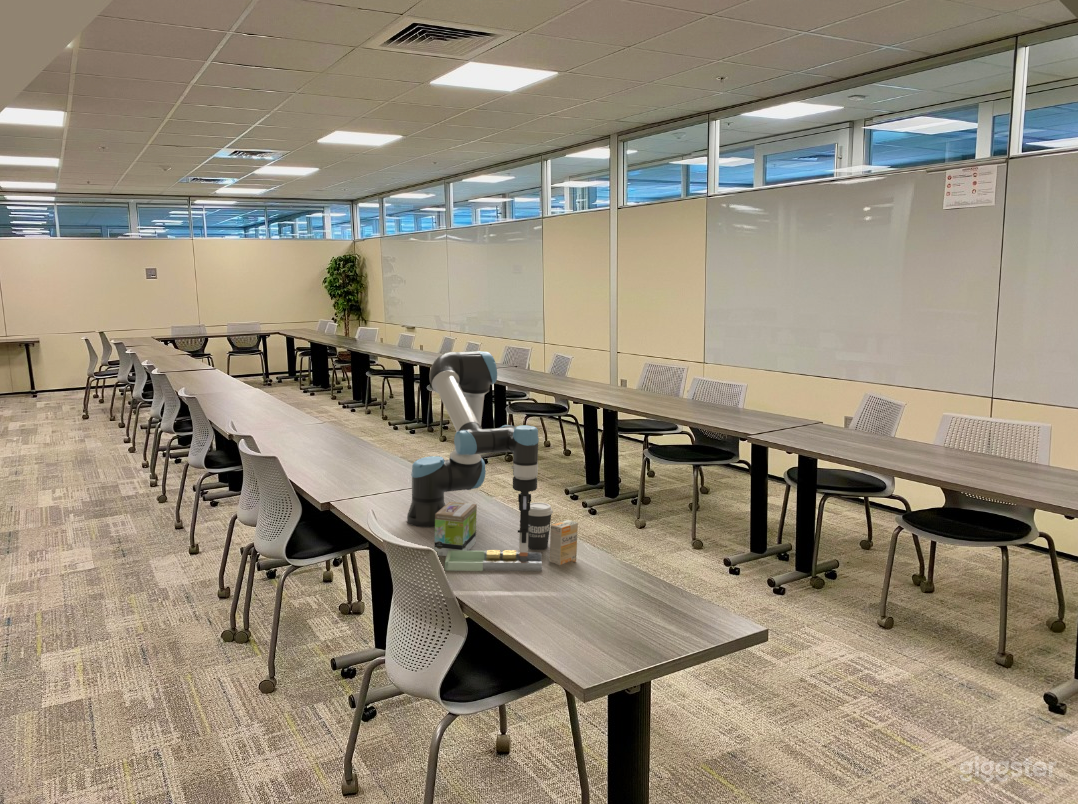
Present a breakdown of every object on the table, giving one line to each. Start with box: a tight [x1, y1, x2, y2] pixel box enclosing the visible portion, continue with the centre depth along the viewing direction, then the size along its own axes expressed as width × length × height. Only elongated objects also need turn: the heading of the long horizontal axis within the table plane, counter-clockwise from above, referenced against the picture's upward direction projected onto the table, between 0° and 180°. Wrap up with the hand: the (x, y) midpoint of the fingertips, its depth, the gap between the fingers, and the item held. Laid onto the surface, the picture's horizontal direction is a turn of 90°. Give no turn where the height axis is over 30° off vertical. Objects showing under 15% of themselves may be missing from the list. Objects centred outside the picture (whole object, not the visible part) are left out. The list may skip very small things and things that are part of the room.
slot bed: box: [483, 550, 543, 572], centre depth 240 cm, size 10×18×4 cm, turn 91°
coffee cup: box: [528, 501, 554, 551], centre depth 256 cm, size 10×10×15 cm
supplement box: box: [549, 519, 579, 566], centre depth 244 cm, size 8×5×13 cm, turn 137°
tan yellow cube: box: [486, 549, 501, 561], centre depth 239 cm, size 4×4×4 cm
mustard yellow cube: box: [502, 549, 517, 561], centre depth 239 cm, size 4×4×4 cm
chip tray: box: [444, 550, 486, 572], centre depth 239 cm, size 10×12×4 cm
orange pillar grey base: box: [520, 552, 528, 561], centre depth 239 cm, size 4×2×13 cm, turn 1°
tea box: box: [433, 501, 478, 557], centre depth 252 cm, size 15×10×15 cm, turn 168°
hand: (523, 550), depth 239 cm, fingers closed on orange pillar grey base, 2 cm apart
